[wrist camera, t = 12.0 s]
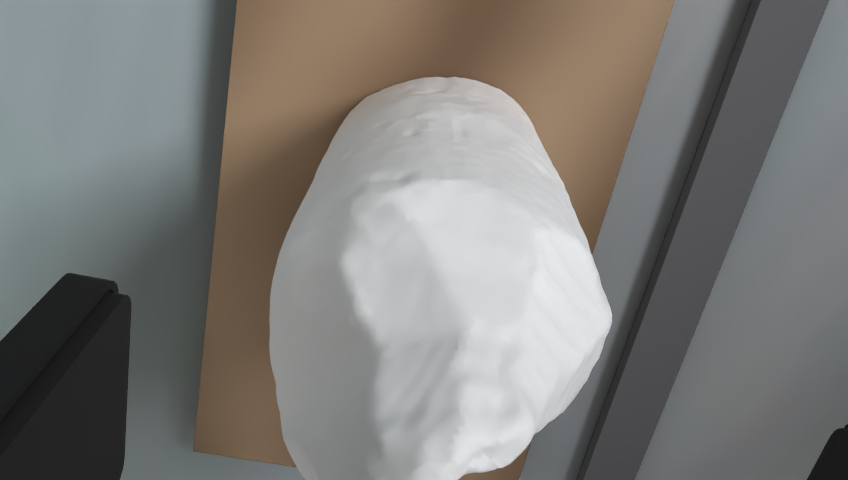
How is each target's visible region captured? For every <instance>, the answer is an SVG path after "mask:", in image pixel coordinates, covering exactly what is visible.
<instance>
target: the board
mask: <svg viewBox="0 0 848 480" xmlns="http://www.w3.org/2000/svg"><path fill="white" fill-rule="evenodd" d="M674 1H675V0H237V6H236V16H235V26H234V37H233V47H232V57H231V67H230V78H229V88H228V98H227V109H226V119H225V129H224V140H223V150H222V160H221V170H220V181H219V191H218V201H217V212H216V222H215V232H214V243H213V253H212V263H211V273H210V284H209V294H208V304H207V315H206V325H205V335H204V346H203V356H202V366H201V376H200V387H199V397H198V407H197V418H196V428H195V438H194V448H193V451H195V452H201V453H208V454H214V455H221V456H227V457H234V458H240V459H247V460H253V461H260V462H266V463H273V464H279V465H286V466H292V467H297V466H296V465H295V463H294V462H293V460H292V458H291V456H290V454H289V451H288V449H287V447H286V445H285V442H284V440H283V435H282V428H281V419H280V411H279V407H278V403H277V396H276V382H275V379H274V375H273V371H272V367H271V360H270V350H269V339H270V321H269V317H270V294H271V287H272V280H273V276H274V272H275V268H276V264H277V260H278V256H279V253H280V250H281V247H282V245H283V242H284V239H285V237H286V234H287V232H288V230H289V228H290V225H291V223H292V221H293V219H294V217H295V215H296V213H297V211H298V209H299V207H300V205H301V203H302V201H303V199H304V198H305V196H306V194H307V192H308V190H309V188H310V186H311V184H312V182H313V180H314V177H315V174H316V172H317V169H318V167H319V165H320V163H321V161H322V159H323V157H324V155H325V153H326V152H327V150H328V148H329V146H330V143H331V141H332V139H333V138H334V136H335V134H336V132H337V131H338V129H339V127H340V126H341V124H342V123H343V121H344V120H345V118H346V117H347V115H348V114H349V113H350V111H351V110H352V109H354V108H355V107H356V106H357V105H358V104H359V103H360V102H361V101H362V100H363V99H365V98H366V97H367V96H369V95H371V94H374V93H376V92H379V91H381V90H382V89H385V88H387V87H390V86H393V85H396V84H400V83H404V82H406V81H410V80H414V79H419V78H424V77H444V78H449V77H459V78H467V79H472V80H476V81H479V82H482V83H485V84H488V85H490V86H493V87H495V88H498V89H500V90H502V91H503V92H505V93H506V94H507V95H509V96H510V97H511V98H513V99H514V100H515V101H516V102H517V103H518V104H519V105H520V106H521V108H522V109H523V110H524V111H525V113H526V114H527V116H528V117H529V118H530V120H531V122H532V124H533V126H534V128H535V130H536V133H537V135H538V137H539V139H540V140H541V143H542V145H543V147H544V149H545V151H546V152H547V154H548V157H549V158H550V160H551V162H552V164H553V166H554V168H555V169H556V171H557V172H558V174H559V177H560V178H561V180H562V181H563V183H564V185H565V190H566V191H567V193H568V195H569V197H570V202H571V205H572V207H573V209H574V210H575V213H576V216H577V218H578V221H579V223H580V226H581V228H582V230H583V232H584V234H585V236H586V238H587V241H588V244H589V248H590V252H591V255H592V253H593V250H594V247H595V244H596V241H597V237H598V234H599V231H600V228H601V225H602V222H603V219H604V216H605V213H606V210H607V207H608V204H609V201H610V197H611V194H612V191H613V188H614V185H615V182H616V179H617V176H618V173H619V170H620V167H621V164H622V161H623V158H624V154H625V151H626V148H627V145H628V142H629V139H630V136H631V133H632V130H633V127H634V124H635V121H636V118H637V114H638V111H639V108H640V105H641V102H642V99H643V96H644V93H645V90H646V87H647V84H648V81H649V78H650V75H651V71H652V68H653V65H654V62H655V59H656V56H657V53H658V50H659V47H660V44H661V41H662V38H663V35H664V31H665V28H666V25H667V22H668V19H669V16H670V13H671V10H672V7H673V4H674ZM530 443H531V442H530ZM530 443H529V445H528V446H527V448H526V449H525V450H524V451H523V452H522V453H521V454H520V455H519V456H518V457H517V458H516V459H515V460H514V461H513V462H512V463H511V464H509V465H507V466H505V467H503V468H497V469H495V470H491V471H488V472H484V473H469V474H465V475H464V476H462V477H461V478H460V479H458V480H519V477H520V474H521V471H522V468H523V465H524V462H525V459H526V456H527V453H528V450H529V446H530Z"/></svg>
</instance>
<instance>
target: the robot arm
mask: <svg viewBox="0 0 848 480" xmlns="http://www.w3.org/2000/svg"><path fill="white" fill-rule="evenodd" d="M130 322H131V300H130V297H129V296H128V295H122V294H118V287H117V284H116V283H115V282H114V281H110V280H105V279H99V278H94V277H89V276H83V275H78V274H73V273H67V274H66V275H64V276H63V277H62V278H61V279H60V280H59V281H58V282H57V283H56V284H55V285H54V286H53V287H52V288H51V289H50V290H49V291H48V292H47V294H46V295H45V296H44V297H43V298H42V299H41V300H40V301H39V302H38V303H37V304H36V305H35V306H34V307H33V308H32V309H31V310H30V311H29V312H28V313H27V314H26V315H25V316H24V317H23V318H22V319H21V320H20V322H19V323H18V324H17V325H16V326H15V327H14V328H13V329H12V330H11V331H10V332H9V333H8V334H7V335H6V336H5V337H4V338H3V339H2V340H1V341H0V480H120V477H121V473H122V470H123V465H124V457H125V435H126V412H127V390H128V367H129V345H130ZM807 480H848V424H847V425H846V426H845V427H844V428H841V429H837V430H836V431H834V432H833V434H832V435H831V436H830V438H829V440H828V442H827V443H826V445H825V447H824V449H823V451H822V453H821V455H820V456H819V458H818V460H817V462H816V464H815V466H814V468H813V469H812V471H811V473H810V475H809V477H808V479H807Z"/></svg>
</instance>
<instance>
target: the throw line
mask: <svg viewBox="0 0 848 480" xmlns="http://www.w3.org/2000/svg"><path fill="white" fill-rule="evenodd" d="M828 1H829V0H752V1H751V4H750V7H749V9H748V12H747V15H746V18H745V20H744V23H743V26H742V29H741V31H740V34H739V37H738V40H737V42H736V45H735V48H734V50H733V53H732V56H731V59H730V61H729V64H728V67H727V70H726V72H725V75H724V78H723V81H722V83H721V86H720V89H719V91H718V94H717V97H716V100H715V102H714V105H713V108H712V111H711V113H710V116H709V119H708V122H707V124H706V127H705V130H704V133H703V135H702V138H701V141H700V143H699V146H698V149H697V152H696V154H695V157H694V160H693V163H692V165H691V168H690V171H689V174H688V176H687V179H686V182H685V184H684V187H683V190H682V193H681V195H680V198H679V201H678V204H677V206H676V209H675V212H674V215H673V217H672V220H671V223H670V226H669V228H668V231H667V234H666V236H665V239H664V242H663V245H662V247H661V250H660V253H659V256H658V258H657V261H656V264H655V267H654V269H653V272H652V275H651V278H650V280H649V283H648V286H647V288H646V291H645V294H644V297H643V299H642V302H641V305H640V308H639V310H638V313H637V316H636V319H635V321H634V324H633V327H632V329H631V332H630V335H629V338H628V340H627V343H626V346H625V349H624V351H623V354H622V357H621V360H620V362H619V365H618V368H617V371H616V373H615V376H614V379H613V381H612V384H611V387H610V390H609V392H608V395H607V398H606V401H605V403H604V406H603V409H602V412H601V414H600V417H599V420H598V423H597V425H596V428H595V431H594V433H593V436H592V439H591V442H590V444H589V447H588V450H587V453H586V455H585V458H584V461H583V464H582V466H581V469H580V472H579V474H578V477H577V480H635V477H636V475H637V472H638V470H639V467H640V465H641V462H642V460H643V457H644V455H645V452H646V450H647V448H648V445H649V443H650V440H651V438H652V435H653V433H654V430H655V428H656V425H657V423H658V420H659V418H660V416H661V413H662V411H663V408H664V406H665V403H666V401H667V398H668V396H669V393H670V391H671V388H672V386H673V383H674V381H675V379H676V376H677V374H678V371H679V369H680V366H681V364H682V361H683V359H684V356H685V354H686V351H687V349H688V346H689V344H690V342H691V339H692V337H693V334H694V332H695V329H696V327H697V324H698V322H699V319H700V317H701V314H702V312H703V310H704V307H705V305H706V302H707V300H708V297H709V295H710V292H711V290H712V287H713V285H714V282H715V280H716V277H717V275H718V273H719V270H720V268H721V265H722V263H723V260H724V258H725V255H726V253H727V250H728V248H729V245H730V243H731V241H732V238H733V236H734V233H735V231H736V228H737V226H738V223H739V221H740V218H741V216H742V213H743V211H744V208H745V206H746V204H747V201H748V199H749V196H750V194H751V191H752V189H753V186H754V184H755V181H756V179H757V176H758V174H759V172H760V169H761V167H762V164H763V162H764V159H765V157H766V154H767V152H768V149H769V147H770V144H771V142H772V139H773V137H774V135H775V132H776V130H777V127H778V125H779V122H780V120H781V117H782V115H783V112H784V110H785V107H786V105H787V103H788V100H789V98H790V95H791V93H792V90H793V88H794V85H795V83H796V80H797V78H798V75H799V73H800V70H801V68H802V66H803V63H804V61H805V58H806V56H807V53H808V51H809V48H810V46H811V43H812V41H813V38H814V36H815V33H816V31H817V29H818V26H819V24H820V21H821V19H822V16H823V14H824V11H825V9H826V6H827V4H828Z"/></svg>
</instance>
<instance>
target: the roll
mask: <svg viewBox="0 0 848 480" xmlns="http://www.w3.org/2000/svg"><path fill="white" fill-rule="evenodd" d="M269 321H270V339H269V350H270V360H271V367H272V371H273V375H274V379H275V382H276V396H277V403H278V407H279V411H280V419H281V428H282V435H283V440H284V442H285V445H286V447H287V449H288V451H289V454H290V456H291V458H292V460H293V462H294V463H295V465H296V466H297V468H298V470H299V472H300V473H301V474H302V476H303V478H304V479H305V480H458V479H460V478H461V477H462V476H464V475H465V474H469V473H484V472H488V471H491V470H495V469H497V468H503V467H505V466H507V465H509V464H511V463H512V462H513V461H514V460H515V459H516V458H517V457H518V456H519V455H520V454H521V453H522V452H523V451H524V450H525V449H526V448H527V446H528V445H529V443H530V442H531V440H532V437H533V435H534V434H536V433H538V432H539V431H540V430H541V429H543V428H544V427H545V426H546V425H547V424H548V422H551V421H552V420H554V419H555V418H556V417H557V416H558V415H560V414H561V413H563V412H564V411H565V409H566V408H567V407H568V406H569V405H570V403H571V402H572V401H573V400H574V398H575V397H576V396H577V394H578V393H579V391H580V390H581V388H582V386H583V385H584V384H585V383H586V382H587V380H588V378H589V375H590V373H591V370H592V369H593V367H594V365H595V364H596V362H597V361H598V359H599V357H600V354H601V351H602V349H603V345H604V341H605V339H606V336H607V335H608V332H609V330H610V327H611V324H612V313H611V309H610V305H609V303H608V300H607V297H606V295H605V293H604V291H603V289H602V285H601V281H600V277H599V274H598V271H597V268H596V266H595V263H594V260H593V257H592V255H591V252H590V248H589V244H588V241H587V238H586V236H585V234H584V232H583V230H582V228H581V226H580V223H579V221H578V218H577V216H576V213H575V210H574V209H573V207H572V205H571V202H570V197H569V195H568V193H567V191H566V190H565V185H564V183H563V181H562V180H561V178H560V177H559V174H558V172H557V171H556V169H555V168H554V166H553V164H552V162H551V160H550V158H549V157H548V154H547V152H546V151H545V149H544V147H543V145H542V143H541V140H540V139H539V137H538V135H537V133H536V130H535V128H534V126H533V124H532V122H531V120H530V118H529V117H528V116H527V114H526V113H525V111H524V110H523V109H522V108H521V106H520V105H519V104H518V103H517V102H516V101H515V100H514V99H513V98H511V97H510V96H509V95H507V94H506V93H505V92H503V91H502V90H500V89H498V88H495V87H493V86H490V85H488V84H485V83H482V82H479V81H476V80H472V79H467V78H459V77H449V78H444V77H424V78H419V79H414V80H410V81H406V82H404V83H400V84H396V85H393V86H390V87H387V88H385V89H382V90H381V91H379V92H376V93H374V94H371V95H369V96H367V97H366V98H365V99H363V100H362V101H361V102H360V103H359V104H358V105H357V106H356V107H355V108H354V109H352V110H351V111H350V113H349V114H348V115H347V117H346V118H345V120H344V121H343V123H342V124H341V126H340V127H339V129H338V131H337V132H336V134H335V136H334V138H333V139H332V141H331V143H330V146H329V148H328V150H327V152H326V153H325V155H324V157H323V159H322V161H321V163H320V165H319V167H318V169H317V172H316V174H315V177H314V180H313V182H312V184H311V186H310V188H309V190H308V192H307V194H306V196H305V198H304V199H303V201H302V203H301V205H300V207H299V209H298V211H297V213H296V215H295V217H294V219H293V221H292V223H291V225H290V228H289V230H288V232H287V234H286V237H285V239H284V242H283V245H282V247H281V250H280V253H279V256H278V260H277V264H276V268H275V272H274V276H273V280H272V287H271V294H270V317H269Z"/></svg>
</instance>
